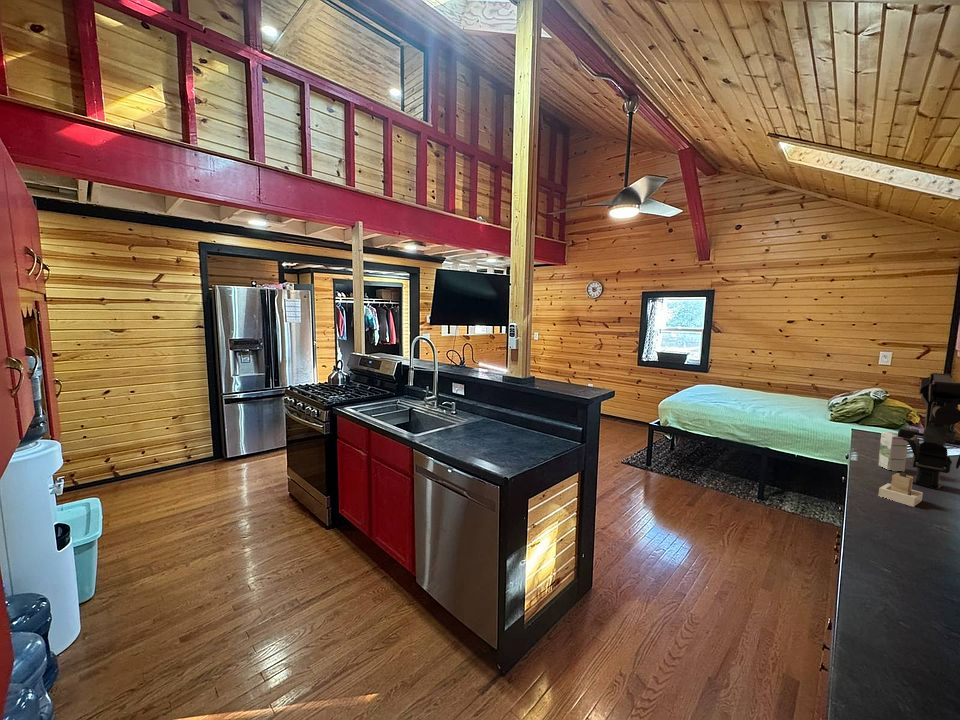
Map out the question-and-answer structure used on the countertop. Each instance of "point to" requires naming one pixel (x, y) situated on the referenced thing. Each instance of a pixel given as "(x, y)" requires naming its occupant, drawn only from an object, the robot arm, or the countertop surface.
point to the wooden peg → (902, 483)
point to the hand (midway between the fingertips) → (936, 463)
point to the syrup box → (892, 452)
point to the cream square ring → (900, 495)
